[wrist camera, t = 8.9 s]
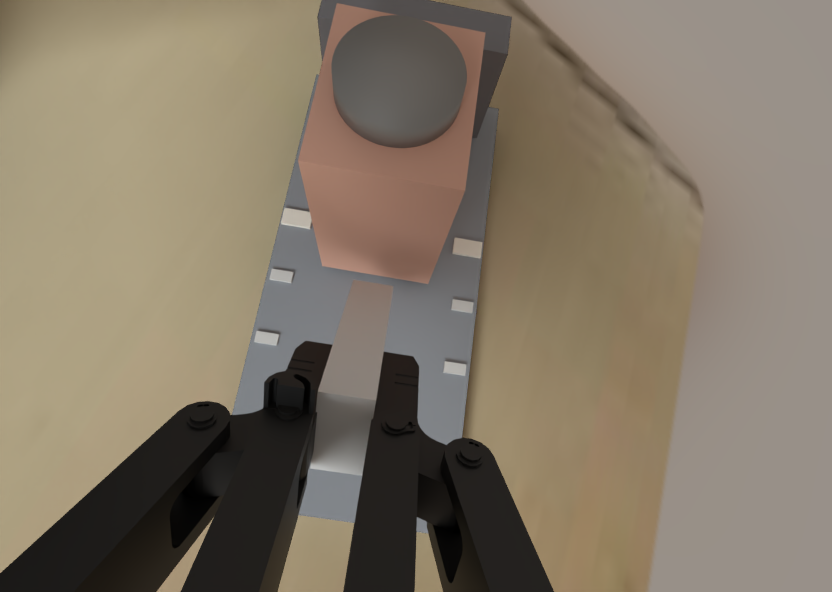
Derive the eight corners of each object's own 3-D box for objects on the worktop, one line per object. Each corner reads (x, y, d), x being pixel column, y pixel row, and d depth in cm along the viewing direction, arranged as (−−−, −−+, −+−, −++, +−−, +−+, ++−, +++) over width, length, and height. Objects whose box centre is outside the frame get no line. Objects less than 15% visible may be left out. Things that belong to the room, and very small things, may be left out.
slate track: (445, 530, 22) (483, 570, 15) (220, 498, 22) (150, 524, 15) (492, 125, 29) (534, 19, 22) (319, 93, 28) (303, -27, 21)
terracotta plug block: (428, 283, 24) (472, 173, 14) (322, 266, 23) (293, 140, 14) (444, 172, 25) (492, 7, 16) (346, 155, 25) (335, -25, 15)
